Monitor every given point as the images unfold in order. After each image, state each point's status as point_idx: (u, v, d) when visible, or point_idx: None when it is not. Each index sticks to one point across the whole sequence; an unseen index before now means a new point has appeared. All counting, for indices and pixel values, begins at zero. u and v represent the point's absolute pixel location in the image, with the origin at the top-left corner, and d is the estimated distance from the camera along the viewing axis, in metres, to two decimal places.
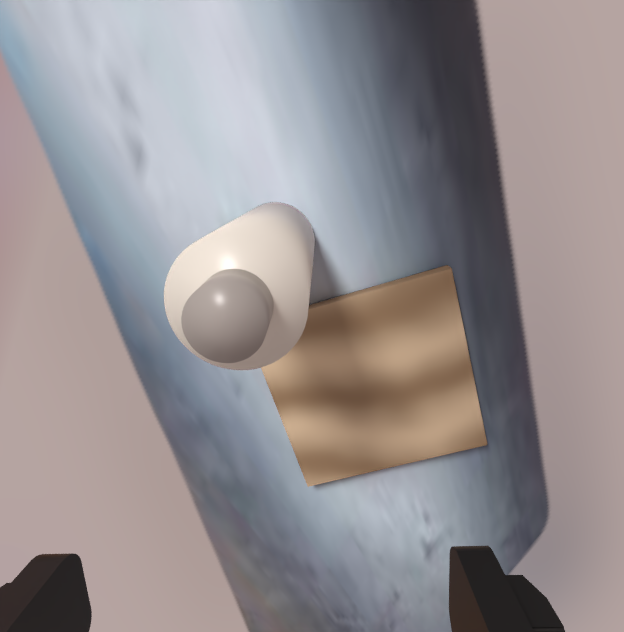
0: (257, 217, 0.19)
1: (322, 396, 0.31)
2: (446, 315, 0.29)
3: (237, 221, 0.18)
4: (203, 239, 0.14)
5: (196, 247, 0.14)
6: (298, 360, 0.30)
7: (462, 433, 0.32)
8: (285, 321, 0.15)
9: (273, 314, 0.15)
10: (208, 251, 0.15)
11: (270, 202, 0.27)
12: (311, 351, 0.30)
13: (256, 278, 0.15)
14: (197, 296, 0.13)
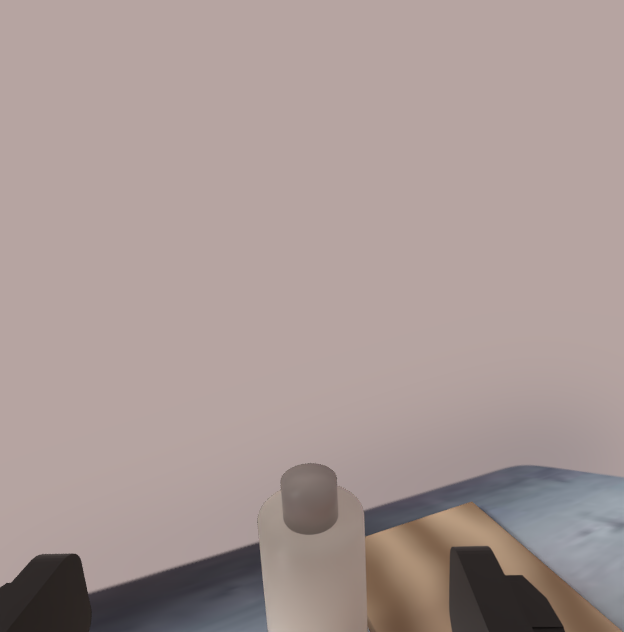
0: None
1: None
2: (369, 544, 0.35)
3: (263, 584, 0.21)
4: (261, 533, 0.20)
5: (266, 536, 0.19)
6: None
7: (470, 517, 0.38)
8: None
9: None
10: (270, 530, 0.20)
11: None
12: None
13: None
14: (289, 490, 0.19)
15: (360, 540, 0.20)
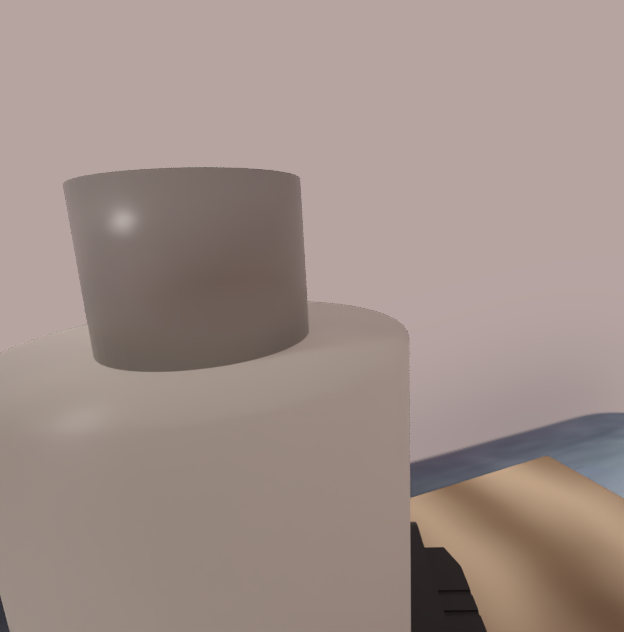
0: None
1: None
2: None
3: None
4: None
5: None
6: None
7: (552, 477, 0.23)
8: None
9: None
10: (15, 368, 0.05)
11: None
12: None
13: None
14: None
15: (400, 403, 0.04)
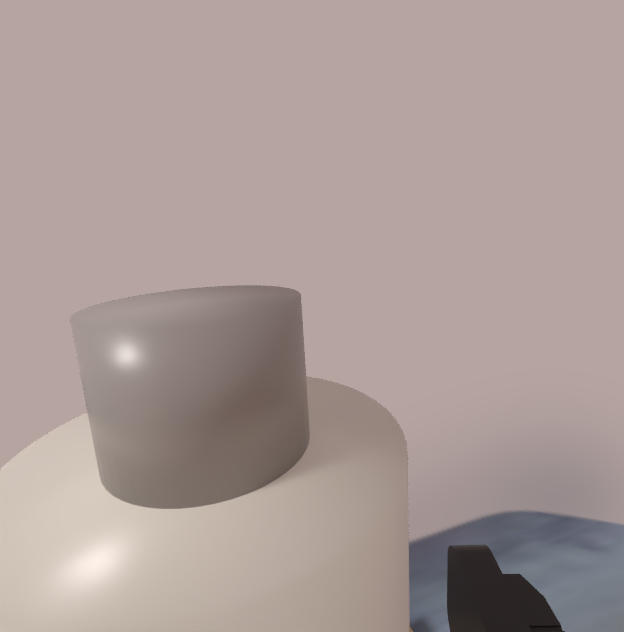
0: None
1: None
2: None
3: None
4: None
5: None
6: None
7: None
8: None
9: None
10: (24, 492, 0.05)
11: None
12: None
13: None
14: (89, 320, 0.04)
15: (398, 533, 0.05)
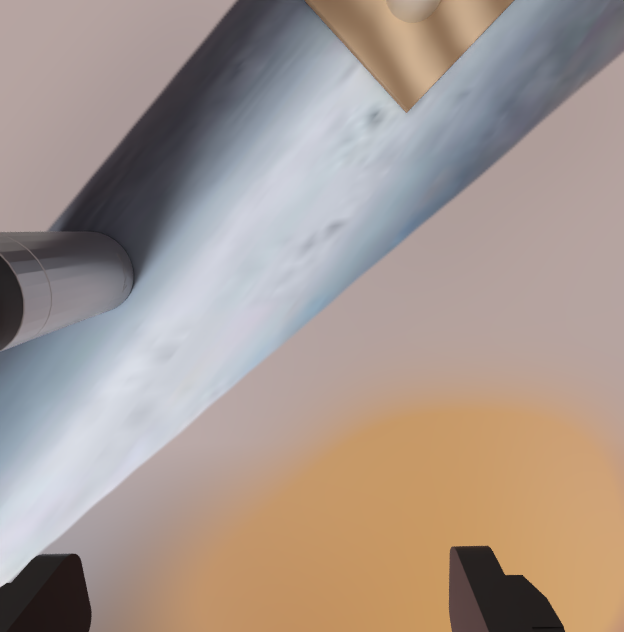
0: None
1: (437, 24, 0.39)
2: None
3: None
4: None
5: None
6: (415, 58, 0.40)
7: None
8: None
9: None
10: None
11: (389, 9, 0.39)
12: (404, 53, 0.40)
13: None
14: None
15: None
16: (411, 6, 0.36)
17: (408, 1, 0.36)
